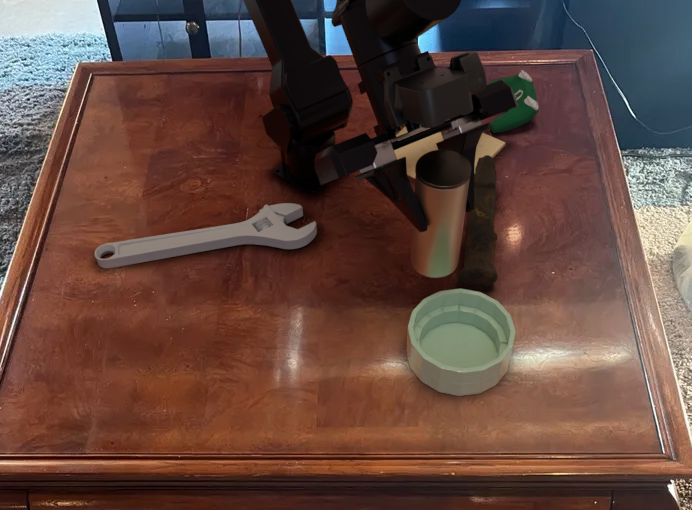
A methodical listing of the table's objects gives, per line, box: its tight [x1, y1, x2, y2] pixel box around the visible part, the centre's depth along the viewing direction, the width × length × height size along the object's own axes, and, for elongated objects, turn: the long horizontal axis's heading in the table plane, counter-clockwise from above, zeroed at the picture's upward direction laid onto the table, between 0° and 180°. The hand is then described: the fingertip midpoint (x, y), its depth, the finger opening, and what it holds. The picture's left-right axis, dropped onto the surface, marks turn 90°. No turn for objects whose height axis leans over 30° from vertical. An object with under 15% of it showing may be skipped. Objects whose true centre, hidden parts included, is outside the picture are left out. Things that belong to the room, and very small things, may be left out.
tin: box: [409, 150, 471, 279], centre depth 76 cm, size 5×5×12 cm
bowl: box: [405, 288, 517, 397], centre depth 80 cm, size 10×10×4 cm
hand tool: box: [456, 155, 498, 292], centre depth 90 cm, size 19×4×5 cm, turn 168°
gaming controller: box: [487, 69, 540, 134], centre depth 104 cm, size 9×4×6 cm
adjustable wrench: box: [94, 202, 318, 269], centre depth 93 cm, size 25×6×2 cm, turn 96°
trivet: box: [394, 126, 506, 180], centre depth 101 cm, size 12×12×1 cm
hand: (447, 221), depth 75 cm, fingers closed on tin, 5 cm apart
